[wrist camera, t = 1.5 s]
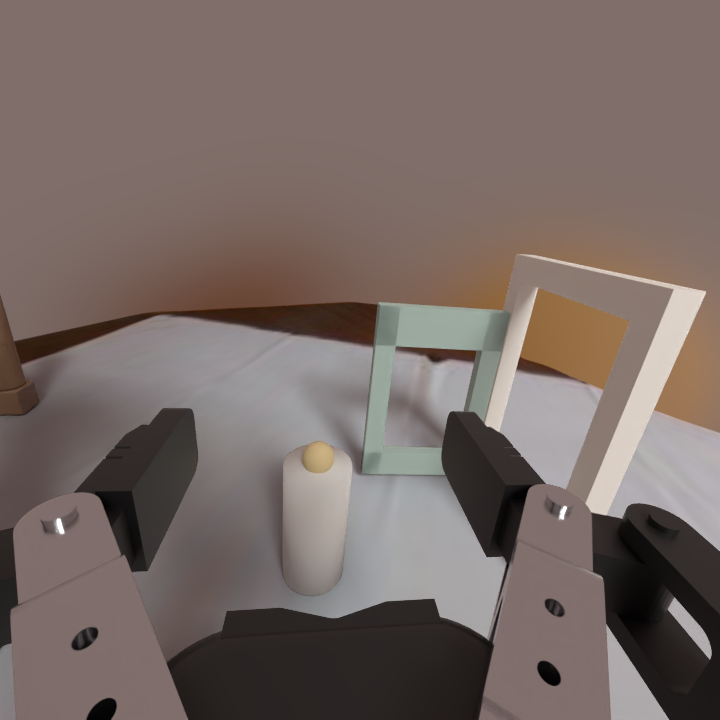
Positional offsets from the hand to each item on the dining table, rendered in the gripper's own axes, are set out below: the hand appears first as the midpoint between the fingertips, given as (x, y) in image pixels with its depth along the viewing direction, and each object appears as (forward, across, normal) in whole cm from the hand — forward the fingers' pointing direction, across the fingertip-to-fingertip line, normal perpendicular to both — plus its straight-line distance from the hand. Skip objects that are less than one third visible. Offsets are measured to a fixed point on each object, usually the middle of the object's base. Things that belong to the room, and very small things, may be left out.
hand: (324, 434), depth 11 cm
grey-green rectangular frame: (+25, -12, +21) cm, 34 cm away
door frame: (+18, -20, +22) cm, 35 cm away
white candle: (+13, 0, +22) cm, 26 cm away
